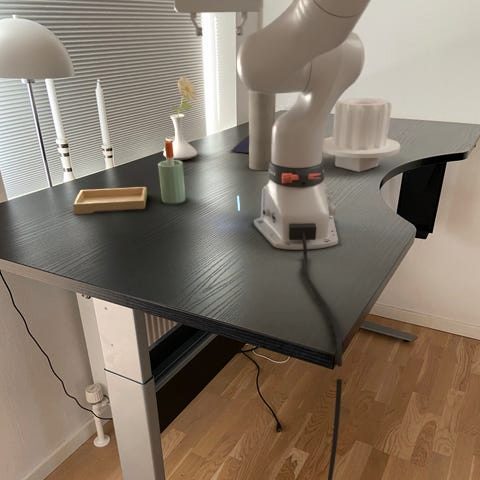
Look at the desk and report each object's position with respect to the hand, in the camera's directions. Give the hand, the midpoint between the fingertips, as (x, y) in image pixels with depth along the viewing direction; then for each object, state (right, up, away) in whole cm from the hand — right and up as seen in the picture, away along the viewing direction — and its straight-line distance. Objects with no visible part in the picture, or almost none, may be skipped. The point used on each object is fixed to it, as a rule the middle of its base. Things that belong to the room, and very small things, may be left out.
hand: (219, 35), depth 112 cm
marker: (-13, -35, +14) cm, 40 cm away
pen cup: (-13, -35, +15) cm, 40 cm away
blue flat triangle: (+19, -3, +65) cm, 67 cm away
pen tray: (-29, -37, +13) cm, 48 cm away
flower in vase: (-15, -11, +52) cm, 56 cm away
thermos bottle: (+12, -18, +41) cm, 46 cm away
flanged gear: (+42, -18, +41) cm, 61 cm away
